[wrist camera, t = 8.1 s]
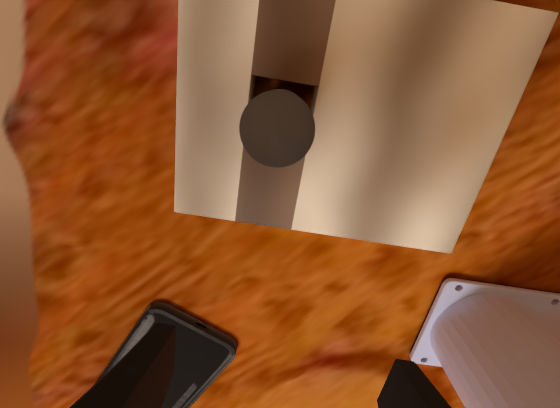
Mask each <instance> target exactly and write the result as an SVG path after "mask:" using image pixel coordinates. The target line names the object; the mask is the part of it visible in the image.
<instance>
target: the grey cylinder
mask: <svg viewBox="0 0 560 408" xmlns="http://www.w3.org/2000/svg"><path fill="white" fill-rule="evenodd" d="M239 132H240V138H241V141H242V144H243V146H244V148H245V150H246V151H247V153H248V154H249V155H250V156H251V157H252V158H253V159H254V160H256V161H257V162H259V163H261V164H263V165H265V166H269V167H276V168H279V167H286V166H290V165H292V164H294V163H296V162H298V161H299V160H301V159H302V158H303V157H304V156H305V155H306V154H307V152H308V151H309V150H310V148H311V146H312V143H313V141H314V137H315V121H314V117H313V114H312V112H311V110H310V108H309V107H308V105H307V104H306V103H305V102H304V101H303V100H302V99H301V98H300V97H299V96H297V95H296V94H295V93H293V92H291V91H289V90H285V89H274V90H270V91H266V92H263V93H261V94H259V95H257V96H256V97H254V98H253V99H252V100H251V101H250V102H249V103H248V104H247V106H246V107H245V109H244V111H243V113H242V115H241V119H240V124H239Z"/></svg>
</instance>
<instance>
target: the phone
mask: <svg viewBox="0 0 560 408" xmlns="http://www.w3.org/2000/svg"><path fill="white" fill-rule="evenodd" d="M196 322H198V323H200V324H201V325H203V326H205V327H207V329H205V328H203V327H201V326H199V325H197V324H196ZM156 323H163V324H169V325H176V343H175V363H174V372H173V375H172V378H171V381H170V384H169V387H168V390H167V393H166V396H165V399H164V402H163V405H162V407H161V408H190V406H191V405H192V404H193V403H194V402H195V401H196V400H197V399H198V398H199V397H200V396H201V394H202V393H203V392H204V391H205V390H206V389H207V388H208V387H209V386H210V385H211V383H212V382H213V381H214V380H215V379H216V378H217V377H218V376H219V375H220V374H221V373H222V371H223V370H224V369H225V368H226V367H227V366H228V365H229V364H230V363H231V362H232V360H233V359H234V358H235V354H236V349H237V344H236V341H235V340H234V339H233V338H231V337H230V336H228V335H226V334H224V333H222V332H221V331H219V330H217V329H215V328H213V327H211V326H209V325H207V324H205V323H204V322H202V321H200V320H198V319H196V318H194V317H192V316H190V315H188V314H186V313H185V312H183V311H181V310H179V309H177V308H175V307H173V306H171V305H169V304H167V303H164V302H155V303H152V304H151V305H150V306H148V308H147V309H146V311H145V312H144V314H143V315H142V317H141V318H140V320H139V321H138V322H137V324H136V325H135V327H134V328H133V330H132V331H131V333H130V334H129V336H128V337H127V339H126V340H125V342H124V343H123V344H122V346H121V347H120V349H119V350H118V352H117V353H116V355H115V356H114V358H113V359H112V361H111V362H110V363H109V365H108V366H107V368H106V369H105V371H104V372H103V374H102V375H101V377H100V378H99V380H100V379H101V378H102V377H103V376H104V375H105V374H106V373H108V372H109V371H110V370H111V369H112V368H113V367H114V366H115V365H116V364H117V363H118V362H119V361H120V360H121V359H122V358H123V357H124V356H125V355H126V354H127V353H128V352H129V351H130V350H131V349H132V348H133V347H134V346H135V344H136V343H137V342H138V341H139V340H140V339H141V338H142V337H143V336H144V335H145V334H146V333H147V332H148V331H149V329H150V328H151V327H152V326H153V325H154V324H156ZM222 335H223V336H224V337H223V336H222ZM99 380H98V381H99ZM98 381H97V382H98Z"/></svg>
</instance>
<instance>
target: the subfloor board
mask: <svg viewBox="0 0 560 408" xmlns="http://www.w3.org/2000/svg"><path fill="white" fill-rule="evenodd" d="M558 14H559V13H557V12H552V11H547V10H542V9H536V8H531V7H526V6H521V5H515V4H510V3H505V2H499V1H494V0H179V1H178V50H177V99H176V148H175V197H174V212H178V213H185V214H191V215H198V216H205V217H211V218H218V219H225V220H231V221H238V222H245V223H251V224H258V225H264V226H271V227H278V228H284V229H291V230H298V231H304V232H311V233H318V234H324V235H331V236H338V237H344V238H351V239H357V240H364V241H371V242H377V243H384V244H391V245H397V246H404V247H411V248H417V249H424V250H430V251H437V252H444V253H450V254H451V253H452V250H453V248H454V246H455V244H456V241H457V239H458V237H459V235H460V233H461V230H462V228H463V226H464V224H465V221H466V219H467V217H468V215H469V212H470V210H471V208H472V206H473V204H474V201H475V199H476V197H477V195H478V192H479V190H480V188H481V186H482V183H483V181H484V179H485V177H486V174H487V172H488V170H489V168H490V166H491V163H492V161H493V159H494V157H495V154H496V152H497V150H498V148H499V145H500V143H501V141H502V139H503V137H504V134H505V132H506V130H507V128H508V125H509V123H510V121H511V119H512V116H513V114H514V112H515V110H516V108H517V105H518V103H519V101H520V99H521V96H522V94H523V92H524V90H525V87H526V85H527V83H528V81H529V78H530V76H531V74H532V72H533V70H534V67H535V65H536V63H537V61H538V58H539V56H540V54H541V52H542V49H543V47H544V45H545V43H546V41H547V38H548V36H549V34H550V32H551V29H552V27H553V25H554V23H555V20H556V18H557V16H558ZM256 76H258V77H263V78H269V79H275V80H281V81H287V82H292V83H298V84H304V85H310V86H314V90H313V95H312V100H311V106H310V110H311V112H312V114H313V117H314V121H315V137H314V141H313V143H312V146H311V148H310V150H309V151H308V152H307V154H306V155H305V156H304V157H303V158H302V159H301V160H299V161H298V162H296V163H294V164H292V165H290V166H286V167H279V168H276V167H269V166H265V165H263V164H261V163H259V162H257V161H256V160H254V159H253V158H252V157H251V156H250V155H249V154H248V153H247V151H246V150H245V148H244V146H243V144H242V141H241V138H240V132H239V124H240V119H241V115H242V113H243V111H244V109H245V107H246V106H247V104H248V103H249V102H250V101H251V100H252V99H253V98H254V91H255V82H256Z"/></svg>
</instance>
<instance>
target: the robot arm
mask: <svg viewBox="0 0 560 408" xmlns="http://www.w3.org/2000/svg"><path fill="white" fill-rule="evenodd" d="M458 285H459V286H458ZM456 286H458V287H456ZM175 343H176V325H169V324H163V323H156V324H154V325H153V326H152V327H151V328H150V329H149V331H148V332H147V333H146V334H145V335H144V336H143V337H142V338H141V339H140V340H139V341H138V342H137V343H136V344H135V346H134V347H133V348H132V349H131V350H130V351H129V352H128V353H127V354H126V355H125V356H124V357H123V358H122V359H121V360H120V361H119V362H118V363H117V364H116V365H115V366H114V367H113V368H112V369H111V370H110V371H109V372H108V373H106V374H105V375H104V376H103V377H102V378H101V379H100V380H99V381H98V382H97V383H96V384H95V385H94V386H93V387H92V388H91V389H90V390H89V391H88V392H86V393H85V394H84V395H83V396H82V397H81V398H80V399H79V400H77V401H76V402H75V403H74V404H73V405H72V406H71V407H70V408H161V407H162V405H163V402H164V399H165V396H166V393H167V390H168V387H169V384H170V381H171V378H172V375H173V372H174V363H175ZM410 358H411V361H407V360H400V359H396V360H395V362H394V364H393V366H392V369H391V371H390V373H389V375H388V377H387V380H386V382H385V384H384V386H383V388H382V391H381V393H380V395H379V397H378V399H377V402H378V408H451V407H450V405H449V404H448V403H447V402H446V400H445V399H444V398H443V397H442V396H441V394H440V393H439V392H438V391H437V389H436V388H435V387H434V386H433V384H432V383H431V382H430V381H429V379H428V378H427V377H426V376H425V374H424V373H423V372H422V371H421V369H420V368H419V367H418V366H417V365H416V363H418V364H425V365H433V366H440V367H443V369H444V371H445V373H446V374H447V376H448V378H449V380H450V382H451V383H452V385H453V387H454V389H455V391H456V392H457V394H458V396H459V398H460V400H461V401H462V403H463V405H464V407H465V408H560V294H557V293H550V292H544V291H537V290H530V289H523V288H516V287H510V286H503V285H496V284H489V283H482V282H476V281H469V280H462V279H455V278H448V279H446V280H444V282H443V283H442V285H441V287H440V290H439V292H438V294H437V296H436V298H435V301H434V303H433V305H432V307H431V309H430V312H429V314H428V316H427V318H426V320H425V322H424V325H423V327H422V329H421V331H420V333H419V336H418V338H417V340H416V342H415V344H414V347H413V349H412V351H411V353H410Z"/></svg>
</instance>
